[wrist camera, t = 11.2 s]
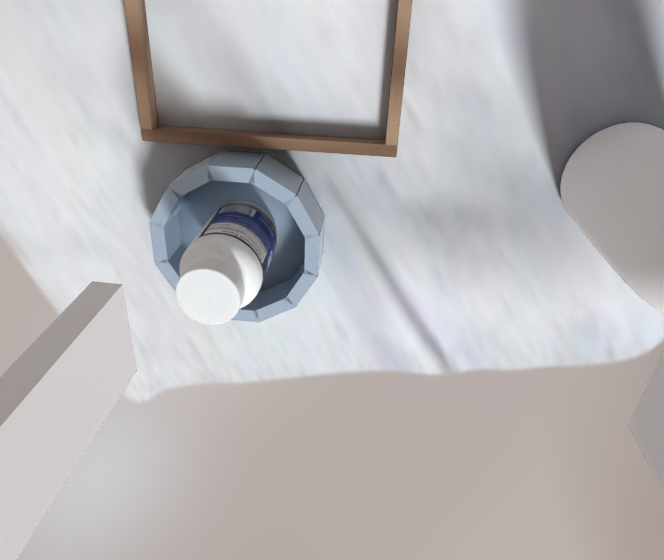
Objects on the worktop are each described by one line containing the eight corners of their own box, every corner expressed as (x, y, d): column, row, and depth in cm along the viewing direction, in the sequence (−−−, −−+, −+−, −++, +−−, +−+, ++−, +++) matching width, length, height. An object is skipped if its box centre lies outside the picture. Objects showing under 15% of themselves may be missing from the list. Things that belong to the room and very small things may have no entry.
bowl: (160, 146, 38) (141, 160, 35) (326, 157, 37) (321, 173, 34) (177, 290, 44) (161, 314, 41) (321, 302, 43) (316, 326, 40)
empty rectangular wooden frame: (122, -76, 32) (113, -78, 31) (417, -63, 31) (419, -65, 30) (148, 136, 38) (142, 140, 37) (395, 152, 37) (396, 157, 36)
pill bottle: (246, 276, 42) (212, 349, 34) (195, 228, 40) (145, 293, 32) (294, 235, 40) (270, 302, 31) (242, 183, 38) (202, 240, 30)
